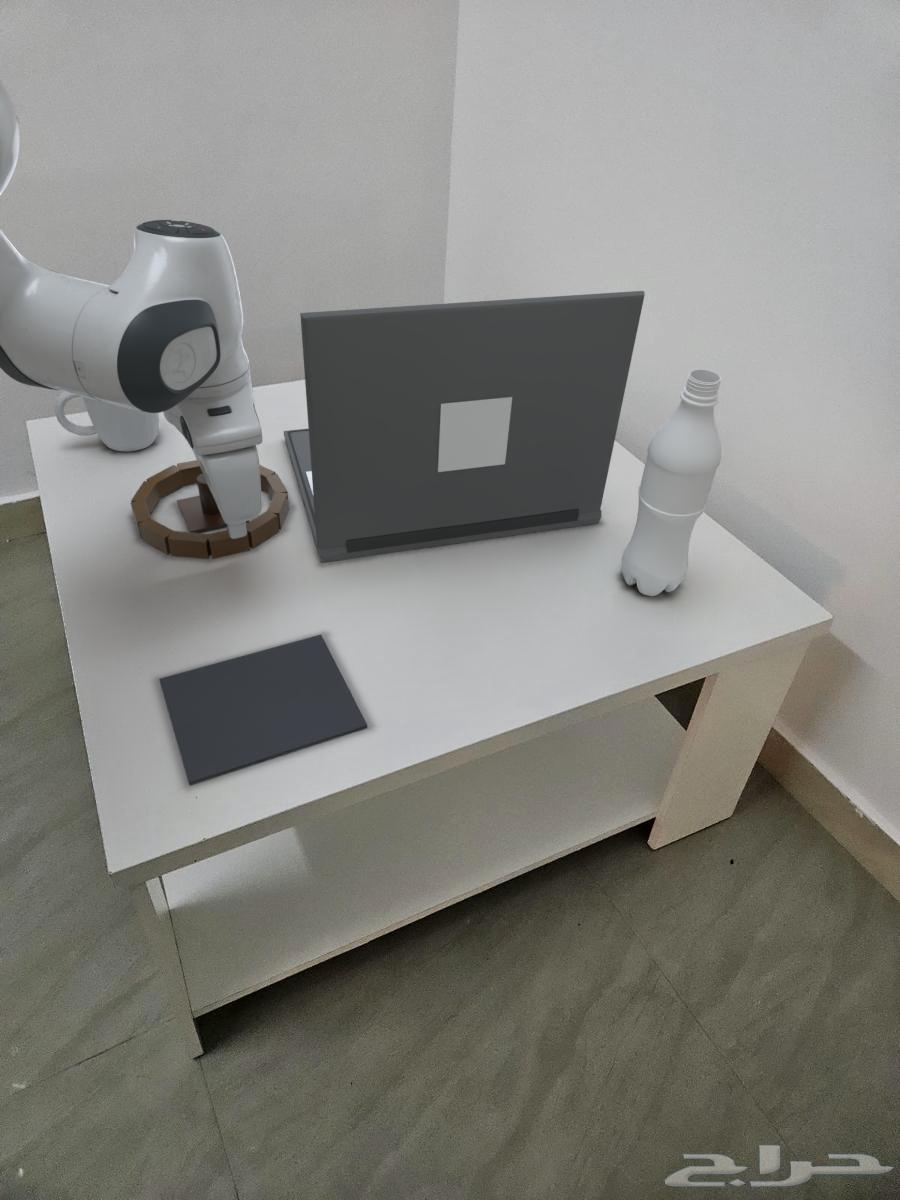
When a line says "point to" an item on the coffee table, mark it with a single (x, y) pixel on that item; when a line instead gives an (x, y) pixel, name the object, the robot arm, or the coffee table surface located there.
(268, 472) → the hoop
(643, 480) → the water bottle
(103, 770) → the coffee table surface
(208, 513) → the stand
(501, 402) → the laptop
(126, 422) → the mug
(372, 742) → the coffee table surface
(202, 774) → the mat
